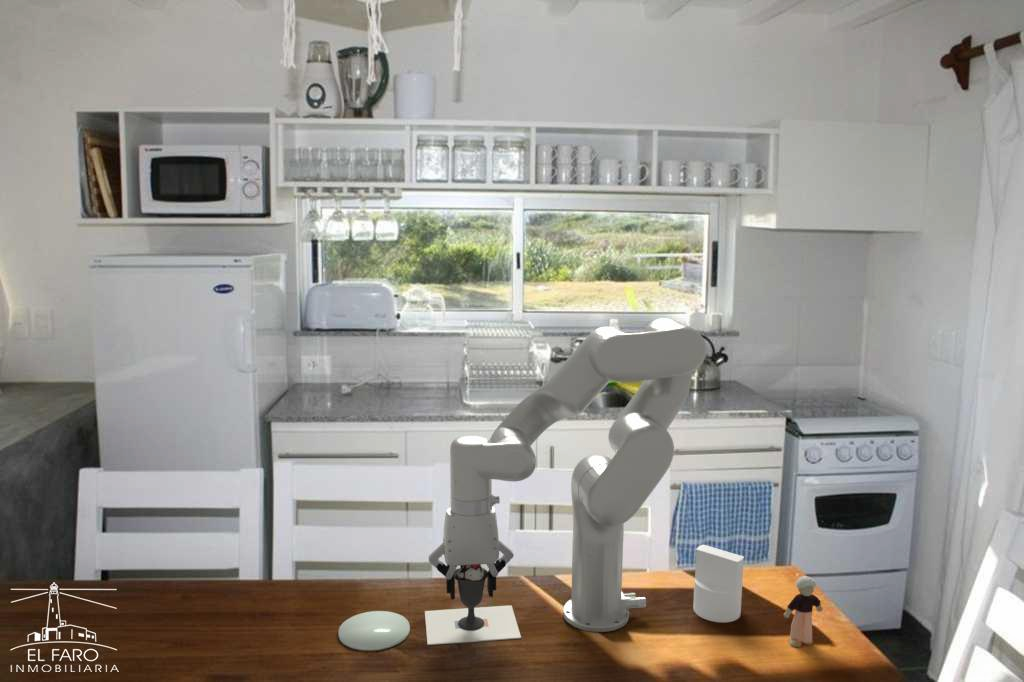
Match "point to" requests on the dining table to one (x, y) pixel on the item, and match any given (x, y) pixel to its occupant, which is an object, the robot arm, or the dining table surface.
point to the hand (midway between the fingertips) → (471, 594)
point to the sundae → (471, 593)
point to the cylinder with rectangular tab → (718, 584)
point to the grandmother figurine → (802, 612)
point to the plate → (374, 630)
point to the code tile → (447, 630)
